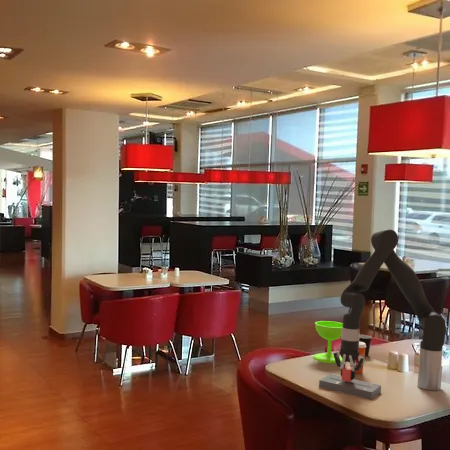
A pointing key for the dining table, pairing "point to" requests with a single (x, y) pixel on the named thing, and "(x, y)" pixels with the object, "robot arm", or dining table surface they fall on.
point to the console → (350, 386)
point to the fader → (346, 374)
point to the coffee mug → (366, 342)
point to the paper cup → (362, 353)
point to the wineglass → (330, 333)
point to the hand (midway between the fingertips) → (347, 378)
